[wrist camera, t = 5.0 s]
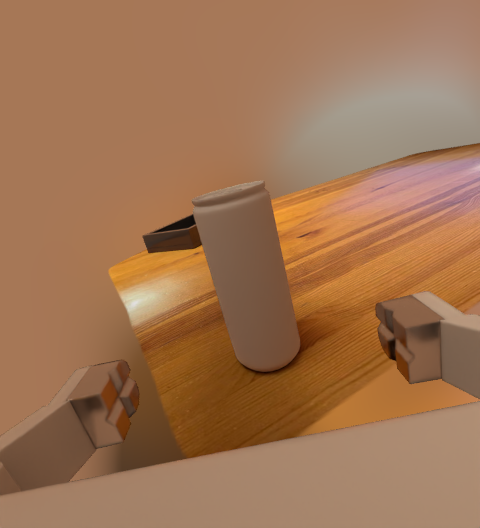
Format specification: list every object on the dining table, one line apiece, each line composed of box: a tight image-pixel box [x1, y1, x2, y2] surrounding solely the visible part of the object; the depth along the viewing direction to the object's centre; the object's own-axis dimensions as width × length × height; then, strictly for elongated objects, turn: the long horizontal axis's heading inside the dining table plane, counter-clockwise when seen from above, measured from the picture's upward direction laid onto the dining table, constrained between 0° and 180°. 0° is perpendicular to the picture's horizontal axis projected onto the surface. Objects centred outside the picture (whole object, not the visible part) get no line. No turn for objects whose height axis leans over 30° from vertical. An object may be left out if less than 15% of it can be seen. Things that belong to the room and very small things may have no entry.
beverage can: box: [192, 181, 300, 372], centre depth 20 cm, size 5×5×12 cm
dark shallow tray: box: [143, 214, 202, 253], centre depth 68 cm, size 18×13×4 cm
